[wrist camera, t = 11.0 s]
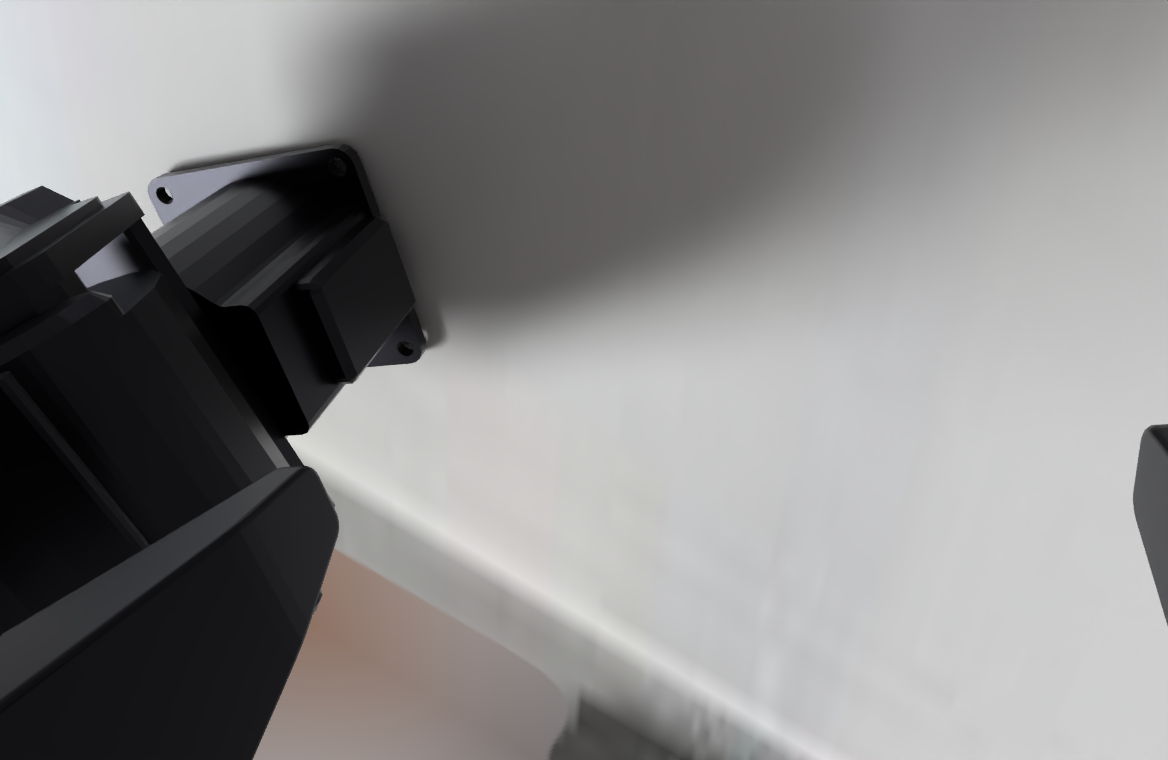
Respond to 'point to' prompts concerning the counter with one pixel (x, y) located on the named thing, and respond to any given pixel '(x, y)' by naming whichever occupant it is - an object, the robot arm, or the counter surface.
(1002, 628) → the counter surface
